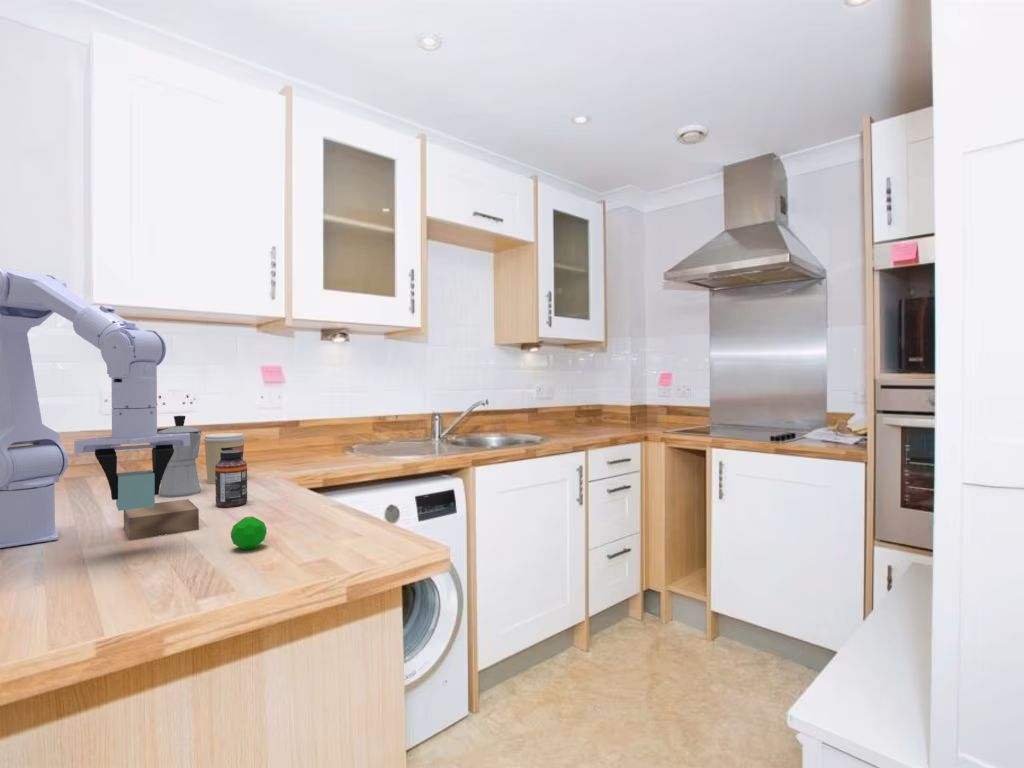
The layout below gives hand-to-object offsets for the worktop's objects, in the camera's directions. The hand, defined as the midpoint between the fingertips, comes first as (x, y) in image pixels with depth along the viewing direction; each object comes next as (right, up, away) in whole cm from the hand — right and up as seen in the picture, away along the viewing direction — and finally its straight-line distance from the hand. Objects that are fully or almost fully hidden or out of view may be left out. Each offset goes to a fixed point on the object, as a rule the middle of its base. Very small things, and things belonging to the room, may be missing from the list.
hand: (135, 496), depth 84 cm
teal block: (0, -1, 0) cm, 1 cm away
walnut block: (-4, -9, +13) cm, 16 cm away
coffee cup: (-16, -8, +57) cm, 60 cm away
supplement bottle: (-1, -8, +31) cm, 32 cm away
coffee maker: (-20, -8, +42) cm, 48 cm away
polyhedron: (+17, -9, +1) cm, 19 cm away
